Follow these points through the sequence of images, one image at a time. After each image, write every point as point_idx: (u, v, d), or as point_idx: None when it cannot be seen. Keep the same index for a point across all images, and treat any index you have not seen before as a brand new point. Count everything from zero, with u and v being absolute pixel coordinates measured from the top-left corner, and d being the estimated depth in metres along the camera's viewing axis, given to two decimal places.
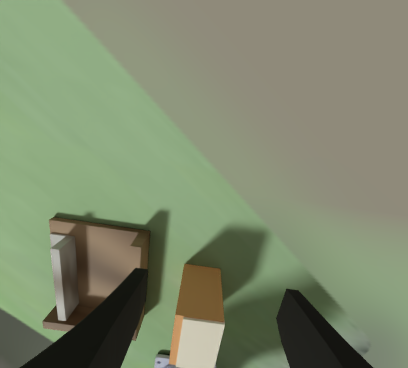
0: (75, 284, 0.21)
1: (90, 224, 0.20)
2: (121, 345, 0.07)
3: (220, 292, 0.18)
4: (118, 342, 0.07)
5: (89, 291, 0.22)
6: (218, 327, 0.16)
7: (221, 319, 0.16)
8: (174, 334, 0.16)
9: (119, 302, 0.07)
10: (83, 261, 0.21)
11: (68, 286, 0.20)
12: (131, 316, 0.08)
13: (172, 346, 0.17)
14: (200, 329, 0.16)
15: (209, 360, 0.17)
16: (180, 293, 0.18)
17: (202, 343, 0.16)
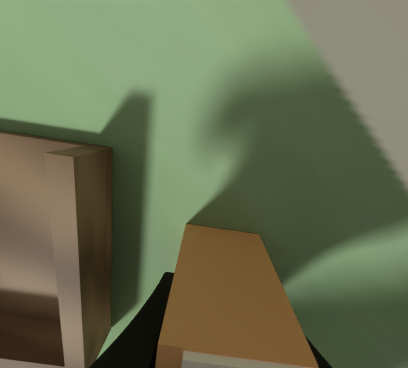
0: None
1: None
2: None
3: (275, 278, 0.07)
4: None
5: None
6: None
7: (306, 358, 0.05)
8: None
9: (159, 308, 0.07)
10: None
11: None
12: None
13: None
14: None
15: None
16: (176, 279, 0.07)
17: None
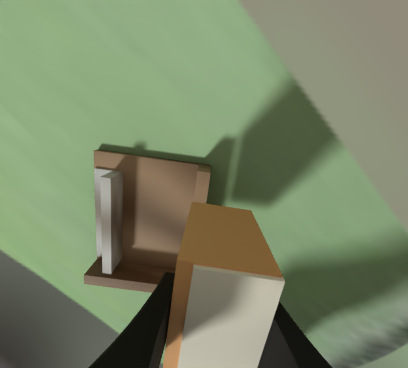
0: (120, 233, 0.18)
1: (142, 156, 0.17)
2: (160, 350, 0.08)
3: (260, 235, 0.10)
4: (159, 348, 0.07)
5: (134, 243, 0.19)
6: (269, 287, 0.07)
7: (275, 272, 0.07)
8: (174, 306, 0.08)
9: (159, 308, 0.07)
10: (130, 204, 0.18)
11: (115, 231, 0.17)
12: (167, 321, 0.08)
13: (170, 332, 0.08)
14: (229, 293, 0.07)
15: (245, 362, 0.08)
16: (186, 231, 0.09)
17: (233, 325, 0.08)
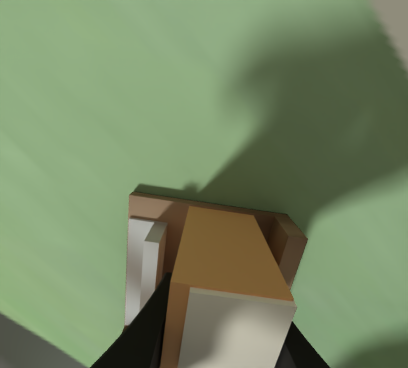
0: None
1: (195, 203, 0.12)
2: (160, 350, 0.08)
3: (265, 246, 0.09)
4: (160, 348, 0.07)
5: None
6: (278, 313, 0.06)
7: (285, 294, 0.06)
8: (168, 332, 0.07)
9: (160, 308, 0.07)
10: (174, 263, 0.13)
11: None
12: None
13: (164, 360, 0.07)
14: (232, 319, 0.06)
15: None
16: (182, 244, 0.08)
17: (235, 353, 0.07)
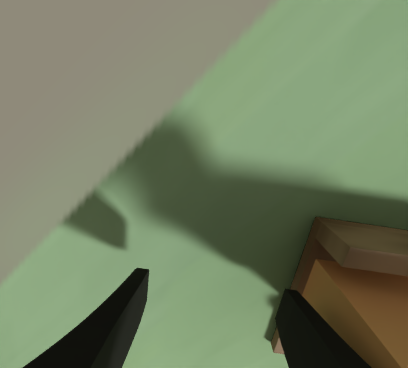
0: None
1: None
2: (122, 345, 0.07)
3: (355, 315, 0.08)
4: (120, 342, 0.07)
5: None
6: None
7: None
8: None
9: (121, 302, 0.07)
10: None
11: None
12: (132, 316, 0.08)
13: None
14: None
15: None
16: None
17: None
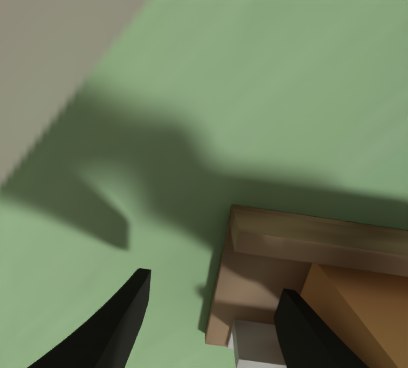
0: None
1: (214, 294, 0.12)
2: (125, 346, 0.07)
3: (353, 315, 0.08)
4: (122, 343, 0.07)
5: None
6: None
7: None
8: None
9: (123, 303, 0.07)
10: None
11: None
12: (135, 317, 0.08)
13: None
14: None
15: None
16: None
17: None
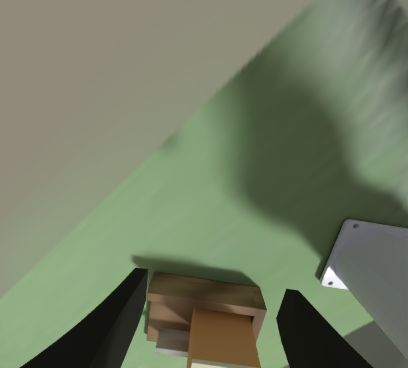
0: None
1: (149, 314, 0.23)
2: (121, 345, 0.07)
3: (193, 328, 0.19)
4: (118, 342, 0.07)
5: None
6: (195, 367, 0.16)
7: (191, 359, 0.16)
8: None
9: (119, 302, 0.07)
10: (186, 326, 0.23)
11: None
12: (131, 316, 0.08)
13: None
14: None
15: None
16: (187, 362, 0.19)
17: None
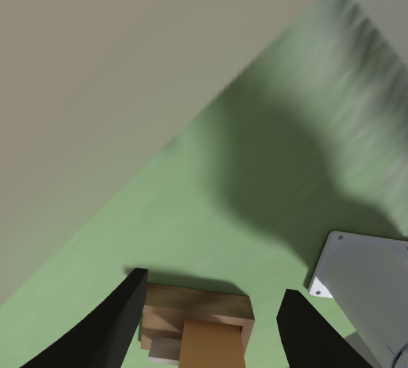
0: None
1: (142, 323, 0.24)
2: (121, 345, 0.07)
3: (182, 338, 0.20)
4: (118, 342, 0.07)
5: None
6: None
7: None
8: None
9: (119, 302, 0.07)
10: (178, 335, 0.24)
11: None
12: (131, 316, 0.08)
13: None
14: None
15: None
16: None
17: None
